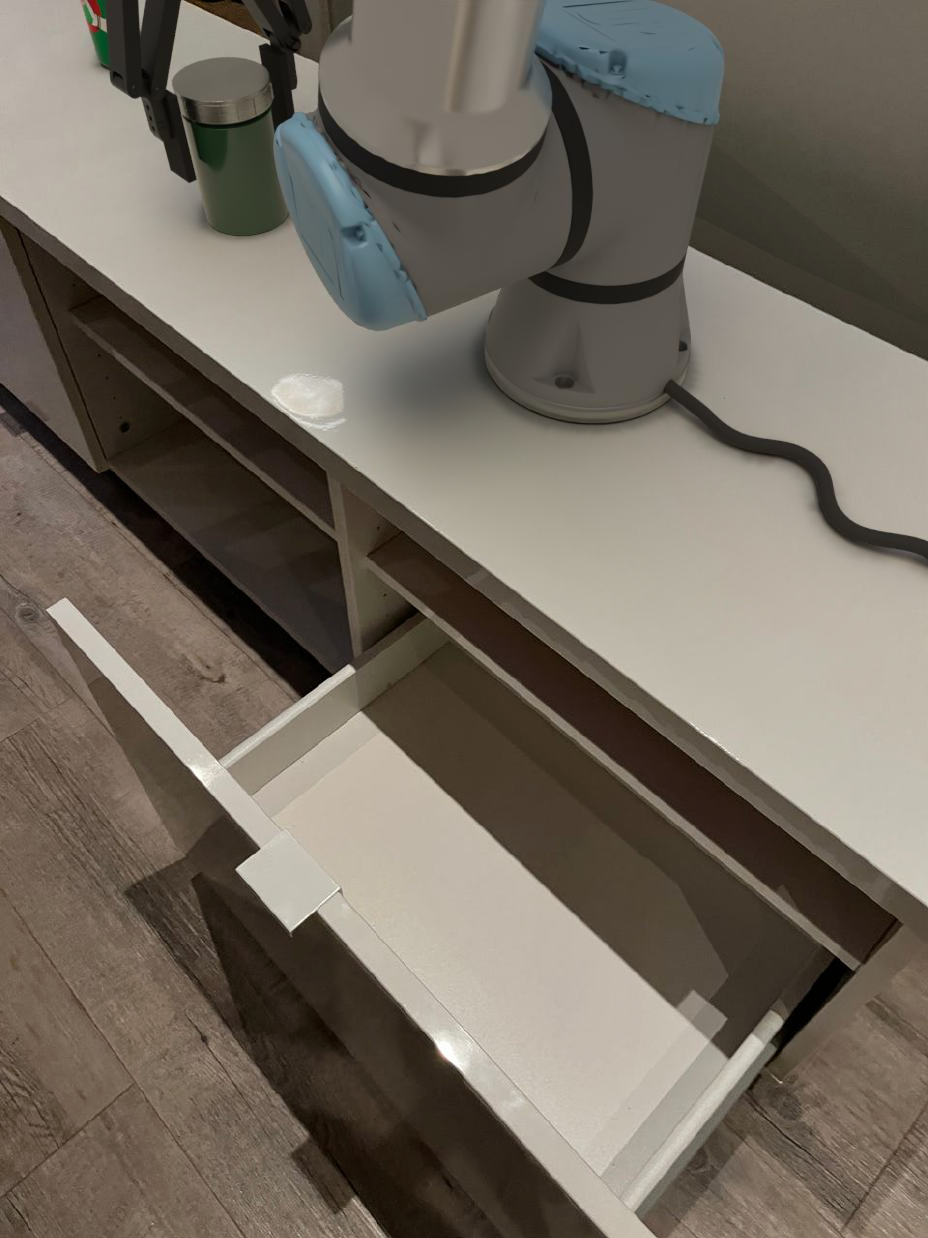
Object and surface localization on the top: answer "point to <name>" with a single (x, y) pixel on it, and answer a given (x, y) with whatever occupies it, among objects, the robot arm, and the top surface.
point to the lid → (223, 90)
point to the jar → (238, 174)
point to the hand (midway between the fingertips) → (235, 152)
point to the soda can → (97, 27)
